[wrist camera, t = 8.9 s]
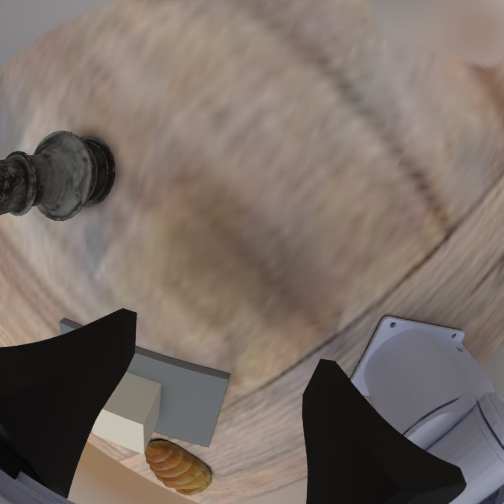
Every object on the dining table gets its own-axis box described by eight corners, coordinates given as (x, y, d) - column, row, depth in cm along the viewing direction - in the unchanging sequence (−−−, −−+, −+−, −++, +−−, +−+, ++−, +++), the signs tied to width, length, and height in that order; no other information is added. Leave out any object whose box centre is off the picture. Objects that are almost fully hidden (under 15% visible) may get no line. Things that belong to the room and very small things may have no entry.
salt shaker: (115, 216, 19) (-12, 278, 8) (56, 206, 19) (-63, 251, 8) (123, 133, 18) (-15, 126, 6) (62, 132, 18) (-66, 136, 6)
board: (229, 373, 23) (228, 379, 22) (209, 442, 26) (208, 447, 25) (63, 318, 23) (59, 322, 22) (76, 394, 26) (72, 399, 25)
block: (161, 383, 23) (143, 424, 18) (159, 416, 24) (144, 454, 20) (110, 365, 23) (85, 401, 18) (113, 399, 24) (93, 434, 20)
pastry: (134, 437, 28) (124, 460, 24) (178, 433, 27) (170, 459, 23) (177, 476, 30) (171, 497, 26) (219, 473, 29) (216, 496, 25)
